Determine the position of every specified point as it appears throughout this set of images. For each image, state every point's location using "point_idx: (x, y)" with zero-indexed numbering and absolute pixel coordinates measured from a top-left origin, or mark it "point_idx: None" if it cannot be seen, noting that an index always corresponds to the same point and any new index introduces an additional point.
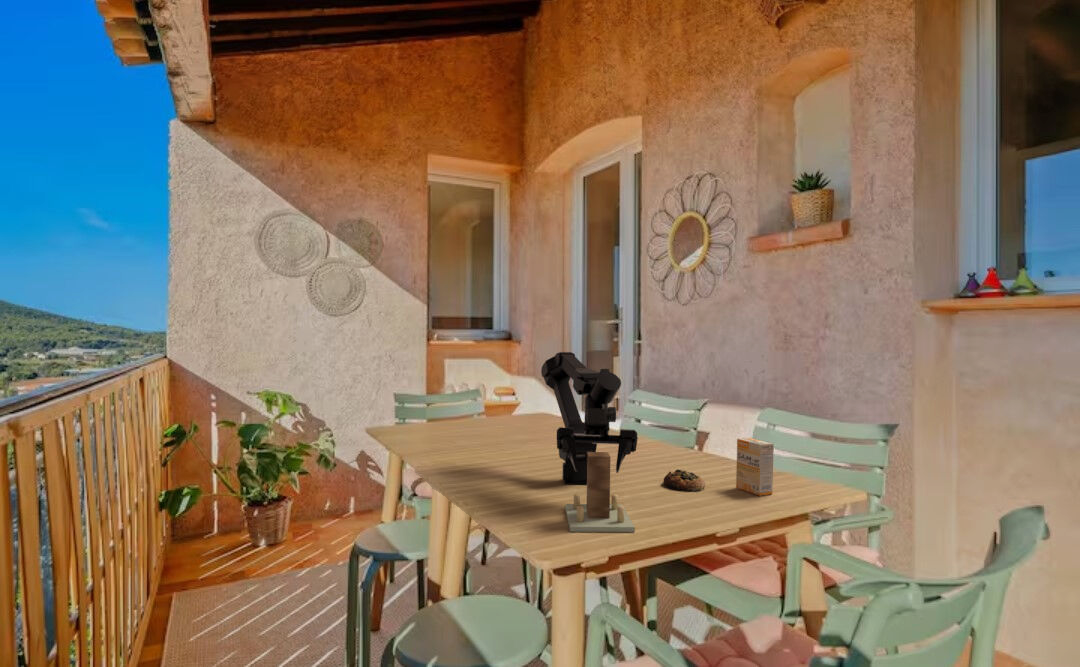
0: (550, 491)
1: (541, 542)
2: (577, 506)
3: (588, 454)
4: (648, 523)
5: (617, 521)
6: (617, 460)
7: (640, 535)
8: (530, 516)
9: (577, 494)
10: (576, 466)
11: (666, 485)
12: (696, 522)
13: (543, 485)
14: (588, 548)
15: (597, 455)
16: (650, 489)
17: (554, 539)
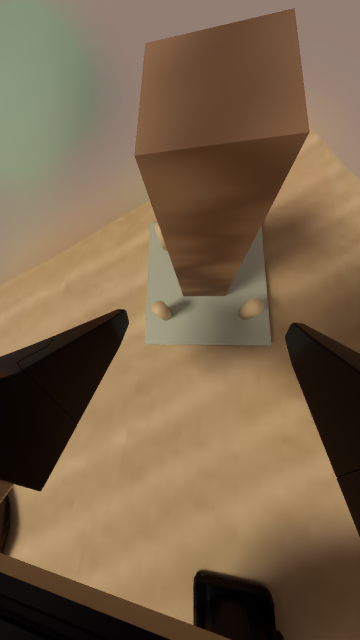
0: (313, 503)
1: (304, 172)
2: None
3: (298, 53)
4: (121, 268)
5: None
6: (93, 327)
7: (147, 218)
8: (343, 291)
9: (253, 311)
10: (302, 327)
11: (5, 520)
12: (49, 278)
13: (343, 585)
14: None
15: (228, 44)
16: (51, 498)
17: (283, 186)
